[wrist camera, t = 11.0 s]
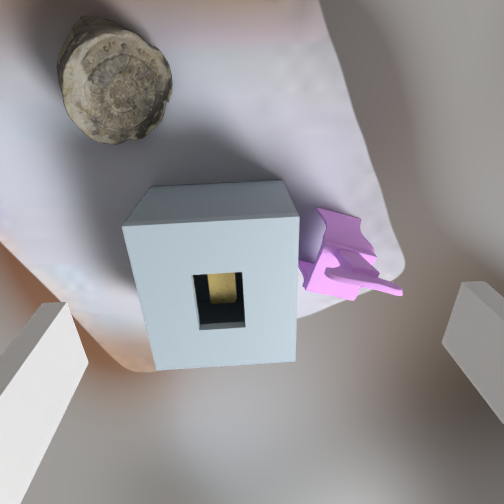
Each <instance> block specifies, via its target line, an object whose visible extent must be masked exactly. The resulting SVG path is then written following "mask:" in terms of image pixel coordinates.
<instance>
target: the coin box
mask: <svg viewBox="0 0 504 504" xmlns="http://www.w3.org/2000/svg"><path fill="white" fill-rule="evenodd" d="M299 218H300V216H299V214H298V212H297V210H296V208H295V206H294V203H293V201H292V199H291V197H290V195H289V193H288V190H287V188H286V186H285V184H284V182H283V180H265V181H247V182H228V183H209V184H190V185H171V186H153V187H150V188H149V190H148V191H147V192H146V194H145V195H144V197H143V198H142V199H141V201H140V202H139V203H138V205H137V206H136V207H135V209H134V210H133V212H132V213H131V214H130V216H129V217H128V218H127V220H126V221H125V222H124V224H123V225H122V230H123V235H124V239H125V243H126V247H127V251H128V255H129V259H130V263H131V267H132V271H133V276H134V280H135V284H136V288H137V292H138V296H139V300H140V304H141V308H142V313H143V317H144V321H145V325H146V329H147V333H148V337H149V341H150V345H151V350H152V354H153V358H154V362H155V366H156V370H170V369H186V368H199V367H200V368H201V367H215V366H231V365H246V364H261V363H276V362H292V361H295V358H296V321H297V288H298V253H299ZM234 272H237V302H235V303H219V304H211V300H210V291H209V283H208V275H207V274H217V273H234Z"/></svg>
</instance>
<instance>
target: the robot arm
mask: <svg viewBox="0 0 504 504" xmlns="http://www.w3.org/2000/svg"><path fill="white" fill-rule="evenodd" d="M442 344H443V345H444V347H445V348H446V349H447V351H448V352H449V353H450V355H451V356H452V357H453V359H454V360H455V361H456V363H457V364H458V365H459V366H460V368H461V369H462V370H463V372H464V373H465V374H466V376H467V377H468V378H469V380H470V381H471V382H472V384H473V385H474V386H475V387H476V389H477V390H478V391H479V393H480V394H481V395H482V397H483V398H484V399H485V401H486V402H487V403H488V404H489V406H490V407H491V408H492V410H493V411H494V412H495V414H496V415H497V416H498V418H499V419H500V420H501V421H502V423H503V424H504V298H503V297H502V296H501V295H500V294H498V293H497V292H496V291H495V290H494V289H493V288H492V287H490V286H489V285H488V284H487V283H486V282H484V281H478V282H462V284H461V287H460V290H459V293H458V296H457V299H456V302H455V305H454V308H453V311H452V314H451V317H450V320H449V323H448V326H447V329H446V332H445V335H444V338H443V341H442ZM87 365H88V360H87V357H86V355H85V352H84V349H83V346H82V343H81V341H80V338H79V335H78V332H77V330H76V327H75V324H74V321H73V318H72V316H71V313H70V310H69V307H68V304H67V302H58V303H42V304H41V306H40V307H39V308H38V310H37V311H36V312H35V313H34V314H33V316H32V317H31V318H30V319H29V321H28V322H27V323H26V324H25V326H24V327H23V328H22V329H21V331H20V332H19V333H18V334H17V336H16V337H15V338H14V339H13V341H12V342H11V343H10V344H9V346H8V347H7V348H6V349H5V351H4V352H3V353H2V354H1V355H0V504H20V503H21V501H22V499H23V497H24V495H25V493H26V491H27V489H28V487H29V485H30V483H31V480H32V479H33V476H34V474H35V472H36V470H37V468H38V466H39V464H40V462H41V460H42V458H43V456H44V453H45V452H46V449H47V448H48V446H49V443H50V441H51V439H52V437H53V435H54V433H55V431H56V429H57V427H58V425H59V423H60V421H61V419H62V417H63V415H64V413H65V410H66V408H67V406H68V404H69V402H70V400H71V398H72V396H73V394H74V392H75V390H76V388H77V386H78V384H79V382H80V380H81V377H82V375H83V373H84V371H85V369H86V367H87Z"/></svg>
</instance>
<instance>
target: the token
mask: <svg viewBox="0 0 504 504" xmlns="http://www.w3.org/2000/svg"><path fill="white" fill-rule="evenodd" d="M207 275H208V283H209V291H210V300H211V304H219V303H235V302H237V272H234V273H217V274H207Z"/></svg>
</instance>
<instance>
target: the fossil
mask: <svg viewBox="0 0 504 504" xmlns="http://www.w3.org/2000/svg"><path fill="white" fill-rule="evenodd" d="M57 73H58V79H59V84H60V88H61V92H62V96H63V102H64V106H65V108H66V111H67V113H68V115H69V117H70V118H71V119H72V121H73V122H74V123H75V124H76V125H77V126H78V128H79V129H81V130H82V132H83V133H84V134H86V135H87V136H89V137H90V138H91V139H92V140H95V141H97V142H100V143H108V144H112V145H116V144H121V143H123V142H124V141H125V140H127V139H131V140H139V139H143V138H144V137H145V136H147V135H148V134H149V133H150V132H151V131H152V130H153V129H154V128H156V127H157V126H158V124H159V123H160V122H161V120H162V118H163V115H164V111H165V107H166V103H167V102H169V98H170V96H171V94H172V74H171V71H170V67H169V64H168V62H167V60H166V58H165V57H164V55H163V54H162V52H161V51H160V50H159V49H158V48H156V47H154V46H152V45H149V44H148V43H147V42H146V41H144V40H143V39H141V38H140V37H139V35H137V34H135V33H133V32H131V31H128V30H126V29H124V28H123V27H121V26H120V25H118V24H116V23H114V22H112V21H109V20H106V19H101V18H96V17H92V16H83V17H81V18H80V20H79V21H78V22H77V23H76V24H75V25H74V26H73V28H72V31H71V33H70V34H69V36H68V38H67V40H66V41H65V43H64V45H63V47H62V49H61V51H60V53H59V56H58V61H57Z"/></svg>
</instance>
